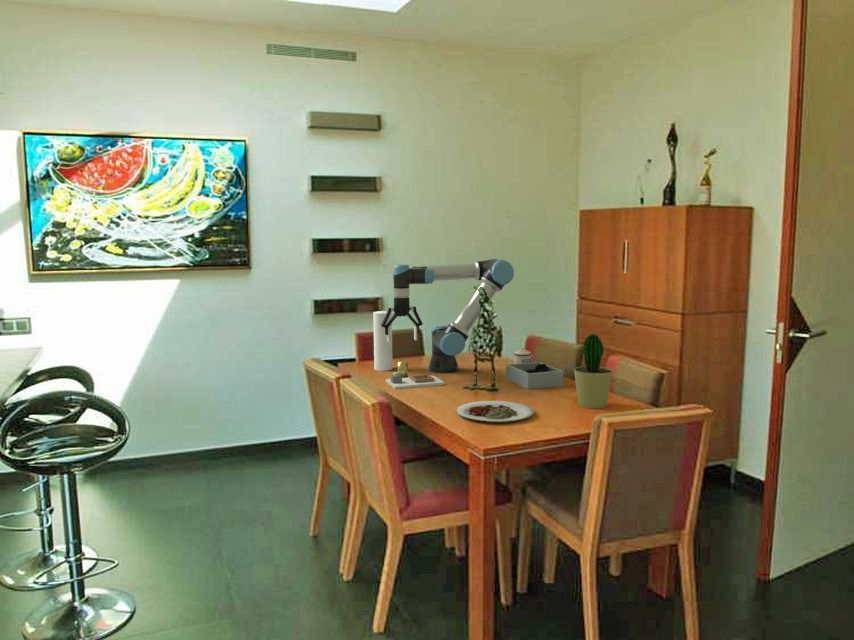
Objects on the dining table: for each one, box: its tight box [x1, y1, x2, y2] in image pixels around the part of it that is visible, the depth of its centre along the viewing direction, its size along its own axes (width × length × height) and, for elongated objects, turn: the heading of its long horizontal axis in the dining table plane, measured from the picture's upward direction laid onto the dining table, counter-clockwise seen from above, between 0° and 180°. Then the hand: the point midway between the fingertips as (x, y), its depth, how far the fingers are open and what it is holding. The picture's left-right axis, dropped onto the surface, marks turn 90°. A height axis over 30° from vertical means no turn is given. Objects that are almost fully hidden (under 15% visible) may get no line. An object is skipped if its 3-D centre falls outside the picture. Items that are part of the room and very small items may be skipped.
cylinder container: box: [372, 310, 394, 372], centre depth 364 cm, size 9×9×30 cm
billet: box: [396, 360, 409, 378], centre depth 343 cm, size 5×5×8 cm
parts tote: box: [505, 361, 565, 390], centre depth 331 cm, size 18×23×7 cm
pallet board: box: [385, 374, 446, 390], centre depth 332 cm, size 24×16×4 cm, turn 109°
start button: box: [392, 371, 400, 377], centre depth 328 cm, size 3×3×3 cm
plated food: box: [456, 400, 535, 423], centre depth 277 cm, size 30×30×3 cm
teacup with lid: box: [513, 346, 535, 364], centre depth 360 cm, size 12×9×12 cm
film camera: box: [526, 363, 547, 373], centre depth 331 cm, size 15×10×9 cm, turn 175°
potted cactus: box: [573, 333, 614, 409], centre depth 287 cm, size 15×15×30 cm
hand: (402, 340), depth 341 cm, fingers open, 13 cm apart
